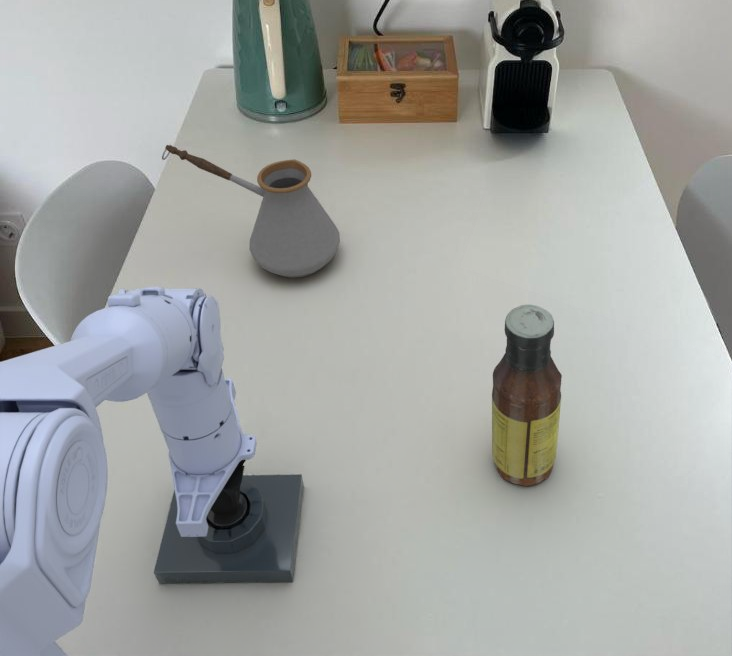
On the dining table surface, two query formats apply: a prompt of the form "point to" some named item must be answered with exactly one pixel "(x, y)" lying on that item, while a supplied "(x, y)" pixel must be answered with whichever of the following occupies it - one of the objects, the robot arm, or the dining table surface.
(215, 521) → the dark grey push button
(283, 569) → the grey button housing
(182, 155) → the coffee pot
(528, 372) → the sauce bottle
